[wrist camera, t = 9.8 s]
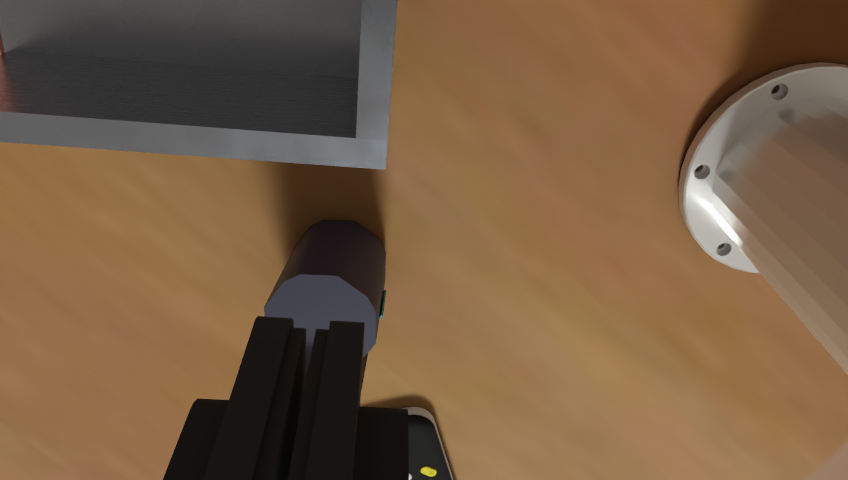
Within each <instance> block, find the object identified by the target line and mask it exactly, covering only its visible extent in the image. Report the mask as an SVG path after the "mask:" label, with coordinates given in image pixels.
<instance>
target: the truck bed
mask: <svg viewBox="0 0 848 480" xmlns="http://www.w3.org/2000/svg"><path fill="white" fill-rule="evenodd" d="M396 9H397V0H0V32H1V37H2V41H3V46H4V51H5V53H3V54H1V55H0V142H11V143H25V144H38V145H52V146H66V147H80V148H94V149H107V150H121V151H135V152H149V153H162V154H176V155H190V156H204V157H217V158H231V159H245V160H259V161H273V162H286V163H300V164H314V165H328V166H341V167H355V168H369V169H383V170H386V155H387V141H388V126H389V111H390V97H391V82H392V67H393V53H394V38H395V23H396Z"/></svg>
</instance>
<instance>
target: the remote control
mask: <svg viewBox="0 0 848 480" xmlns="http://www.w3.org/2000/svg"><path fill="white" fill-rule="evenodd" d="M401 409H408V437H409V480H453V476H452V473H451V470H450V467H449V464H448V461H447V458H446V454H445V451H444V448H443V445H442V442H441V439H440V436H439V432H438V429H437V426H436V423H435V420H434V418H433V416H432V414H431V413H430V412H429V411H427V410H425V409H423V408H420V407H406V408H401Z"/></svg>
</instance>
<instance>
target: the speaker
mask: <svg viewBox="0 0 848 480" xmlns="http://www.w3.org/2000/svg"><path fill="white" fill-rule="evenodd" d="M385 256H386V251H385V250H384V248H383V246H382V244H381V242H380V240H379V239H378V238H377V237H376V236H374V235H373V234H372V233H370V232H369V231H367V230H366V229H365V228H363V227H362V226H360V225H359V224H358V223H356V222H355V221H336V220H323V221H321V222H319V223H317V224H314V225H312V226H311V227H310V228H309V229H308V231H307V232H306V233H305V235H304V236H303V237H302V239H301V240H300V241H299V242H298V244H297V245H296V246H295V248H294V250H293V252H292V254H291V255H290V257H289V259H288V261H287V263H286V265H285V267H284V269H283V271H282V273H281V275H280V277H279V279H278V281H277V283H276V285H275V287H274V289H273V291H272V293H271V295H270V297H269V299H268V301H267V303H266V305H265V307H264V311H265V317H280V318H292V319H293V322H294V328H305V329H306V379H307V374H308V368H309V363H310V358H311V352H312V347H313V342H314V336H315V331H316V329H327V330H329V325H330V321H331V320H332V321H349V322H365V329H364V346H363V363H362V379H361V389H362V383H363V378H364V372H365V367H366V361H367V356H368V352H369V351H370V350H371V348H372V347H373V346H374V345H375V344H376V337H377V331H378V324H379V320H380V319H381V318H382V316H383V311H384V303H385V295H386V290H384V284H385ZM383 290H384V291H383Z"/></svg>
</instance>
